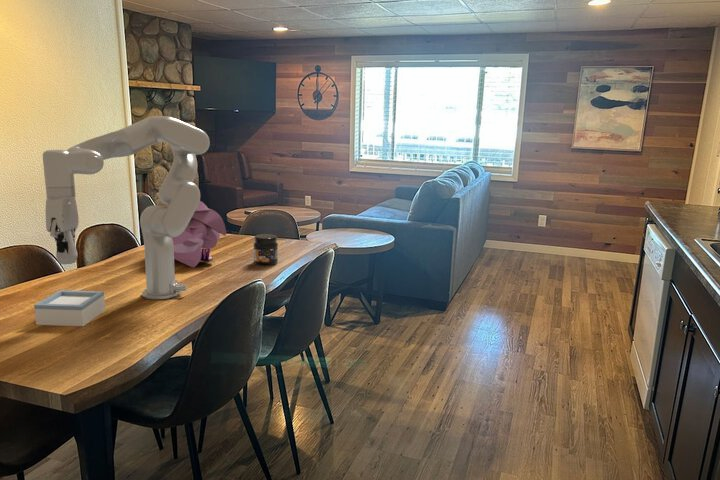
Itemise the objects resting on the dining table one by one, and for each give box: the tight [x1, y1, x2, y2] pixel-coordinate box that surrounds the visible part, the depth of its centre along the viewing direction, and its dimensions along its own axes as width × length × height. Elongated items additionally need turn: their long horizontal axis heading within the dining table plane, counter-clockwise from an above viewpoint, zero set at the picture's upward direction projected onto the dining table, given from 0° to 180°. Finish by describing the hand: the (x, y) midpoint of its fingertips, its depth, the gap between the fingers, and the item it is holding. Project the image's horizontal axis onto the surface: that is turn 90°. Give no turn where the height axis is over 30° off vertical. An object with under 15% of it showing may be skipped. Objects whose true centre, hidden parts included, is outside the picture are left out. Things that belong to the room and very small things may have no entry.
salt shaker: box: [55, 229, 79, 265], centre depth 161 cm, size 6×6×13 cm
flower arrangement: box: [172, 200, 227, 269], centre depth 232 cm, size 35×24×28 cm
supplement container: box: [252, 233, 279, 266], centre depth 233 cm, size 10×10×12 cm
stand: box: [33, 289, 106, 327], centre depth 165 cm, size 14×14×6 cm
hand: (66, 252), depth 161 cm, fingers closed on salt shaker, 3 cm apart
